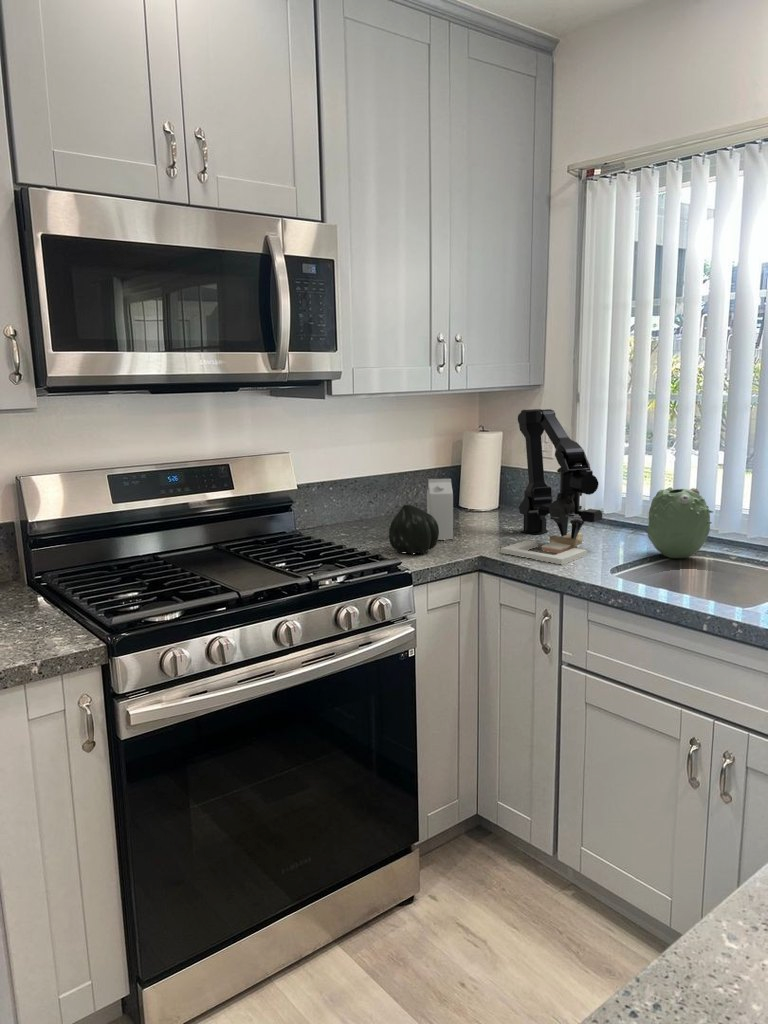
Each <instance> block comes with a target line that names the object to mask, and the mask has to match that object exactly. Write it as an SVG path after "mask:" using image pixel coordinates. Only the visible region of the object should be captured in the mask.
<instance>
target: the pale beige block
mask: <svg viewBox="0 0 768 1024" xmlns="http://www.w3.org/2000/svg"><path fill="white" fill-rule="evenodd" d="M570 546H571V545H568V544H562V543H556V542H551V543H550V542H548V543H545V544H543V545H541V551H542V550H544V551H543V552H545V551H549V552H548V553H550V552H554V553H553V554H556V553H562V552H565V551H568V550H570Z"/></svg>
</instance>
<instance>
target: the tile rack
mask: <svg viewBox="0 0 768 1024" xmlns="http://www.w3.org/2000/svg"><path fill="white" fill-rule="evenodd" d="M535 547H537V548H539V541H536V540H529V539H526V540H523V541H519V542H516V543H514V544H510V545H507V546H504V547H501V548H500V554H501V553H508V554H514V555H520V556H524V557H528V558H532V559H537V560H542V561H541V562H543V561H547V562H546V563H548V562H551V563H550V564H553V563H556V564H555V565H559V564H561V565H560V566H564V565H565V564H568V562H569V563H570V562H574V561H576V559H577V560H580V559H582V558H584V557H587V556H588V555H587V554H588V550H587V549H581V548H578V547H577V548H573V549H570V550H568V551H565V552H562V553H559V554H556V553H555V554H550V553H549V554H548V553H545V552H544V553H543V552H542V553H541V552H538V551H537V552H536V551H532V550H533V549H532V548H535ZM528 549H532V550H529V551H527V550H528ZM535 549H536V548H535ZM581 557H582V558H581ZM532 559H531V560H532ZM537 560H536V561H537ZM573 560H574V561H573Z"/></svg>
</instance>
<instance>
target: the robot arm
mask: <svg viewBox="0 0 768 1024" xmlns="http://www.w3.org/2000/svg"><path fill="white" fill-rule="evenodd" d="M517 422H518V426H519V428H518V429H519V432H521V434H522V435H523V436H524V438H525V446H526V447H525V448H526V451H525V452H526V460H527V461H526V463H527V476H528V483H527V486H526V488H525V489H524V493H523V494H524V497H523V500H522V501H521V503H520V504H519V506H518V511H519V512H518V513H519V514H520V515H523V527H522V528H523V529H522V530H520V533H523V534H530V535H535V536H537V535H538V536H539V535H541V534H545V533H548V531H549V530H548V529H547V521H548V520H547V518H546V517H547V516H548V515H549V516H550V519H551V520H553V521H554V522H555V523H556V525H557V527H558V529H559V533H560V535H561V536H560V537H562V536H565V535H568V524H569V522H570V524H571V533H570V534H571V538H572V539H576V537H577V535H578V533H580V531H581V529H582V527H583V525H584V523H585V522H587V523H595V522H598V521H601V520H603V512H602V511H601V510H600V509H594V508H588V509H585V510H582V507H583V506H582V505H580V498H581V496H583V494H584V495H593V494H594V493H595V492H597V491H598V489H599V481H598V477H596V476H595V475H594V474H593V473H594V472H593V470H591V466H590V465H591V464H590V462H589V460H588V457H587V455H586V453H585V450H584V449H583V447H582V446H581V445H580V444H579V443H578V442H577V441H575V440H572V439H571V438H570V437H569V435H568V433H567V432H566V430H565V429H564V427H563V426H562V424H561V423H560V421H559V419H558V417H556V412H555V410H553V409H552V408H551V409H548V408H547V409H542V408H535V409H534V408H533V409H522V410H521V411H520V413H518V415H517ZM544 432H545V434H546V435H547V437H548V438H549V440H550V441H551V443H552V444H553V446H554V448H555V452H554V457H555V459H556V461H557V463H558V466H560V467H559V468H558V469H556V472H557V473H558V474H559V473H560V479H559V480H560V481H559V482H560V483H559V484H560V485H559V492H558V493H557V495H556V500H554V501H553V495H552V494H553V493H552V492H553V491H552V487H551V486H548V485H547V484H546V481H545V472H544V471H545V470H544V456H543V445H542V444H543V442H542V435H543V434H544ZM569 517H573V519H572V520H569Z"/></svg>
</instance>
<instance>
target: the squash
mask: <svg viewBox="0 0 768 1024" xmlns="http://www.w3.org/2000/svg"><path fill="white" fill-rule="evenodd" d="M438 536H439V527H438V524H437V522H436V520H435V519H434V517H432V516H431V515H430V514H428V513H427V511H425V510H423V509H421V508H419V507H416V506H414V505H411V504H403V506H401V507H400V509H399V511H398V512H397V514H395V516H394V517H393V519H392V521H391V522H390V526H389V530H388V541H389V544H390V546H391V547H392V548H393V549H394V550H395V549H396V550H395V551H397V552H399V553H400V552H408V553H407V554H409V553H411V554H410V555H412V554H413V553H416V554H420V553H424V554H426V553H428V551H430V550H433V549H434V548H435V547H436V546H437V543H438V541H437V540H438ZM418 552H419V553H418Z"/></svg>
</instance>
